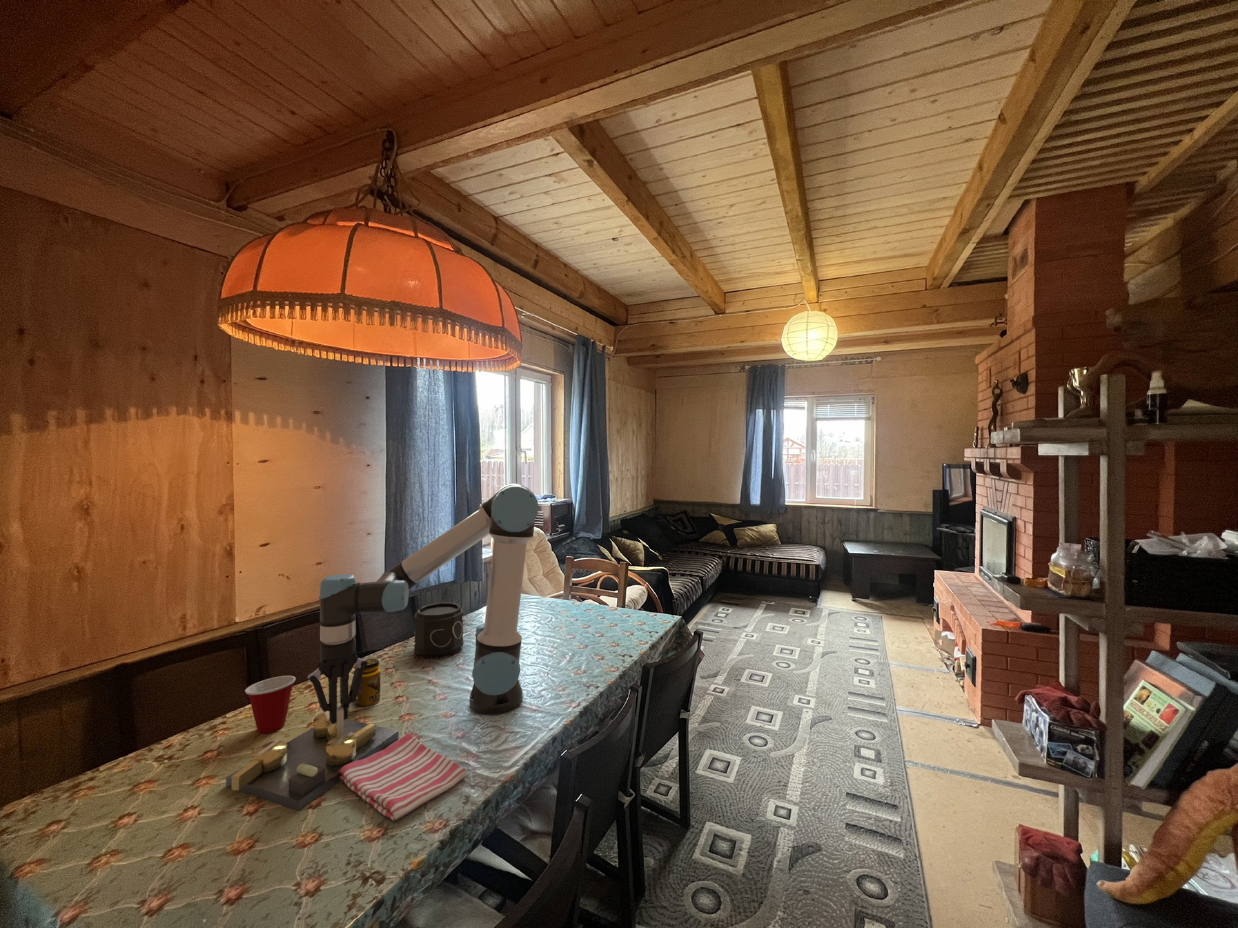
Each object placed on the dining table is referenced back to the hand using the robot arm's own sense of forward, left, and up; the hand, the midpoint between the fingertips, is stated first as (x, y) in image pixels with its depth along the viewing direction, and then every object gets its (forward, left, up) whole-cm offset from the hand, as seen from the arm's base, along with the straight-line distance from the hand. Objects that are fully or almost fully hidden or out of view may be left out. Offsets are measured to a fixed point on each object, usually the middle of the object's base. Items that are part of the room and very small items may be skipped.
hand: (338, 733), depth 115 cm
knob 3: (-7, +2, -1) cm, 7 cm away
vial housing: (-8, +14, -1) cm, 16 cm away
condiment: (+12, -19, -4) cm, 23 cm away
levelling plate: (0, +5, -3) cm, 6 cm away
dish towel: (-24, +4, -4) cm, 25 cm away
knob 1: (+5, +15, -1) cm, 16 cm away
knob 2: (+3, 0, -1) cm, 4 cm away
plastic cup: (+25, -1, -4) cm, 25 cm away
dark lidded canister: (+18, -58, -4) cm, 61 cm away
